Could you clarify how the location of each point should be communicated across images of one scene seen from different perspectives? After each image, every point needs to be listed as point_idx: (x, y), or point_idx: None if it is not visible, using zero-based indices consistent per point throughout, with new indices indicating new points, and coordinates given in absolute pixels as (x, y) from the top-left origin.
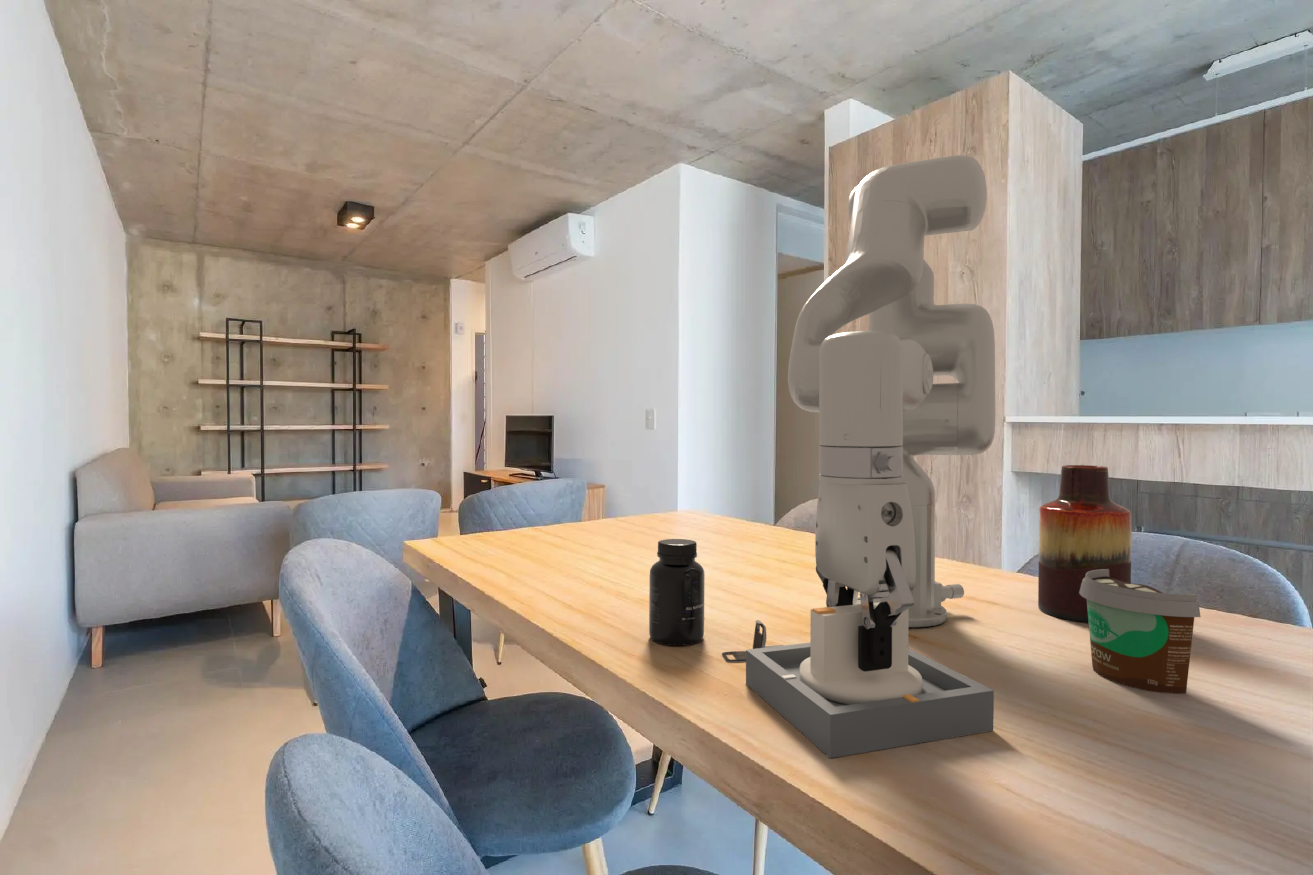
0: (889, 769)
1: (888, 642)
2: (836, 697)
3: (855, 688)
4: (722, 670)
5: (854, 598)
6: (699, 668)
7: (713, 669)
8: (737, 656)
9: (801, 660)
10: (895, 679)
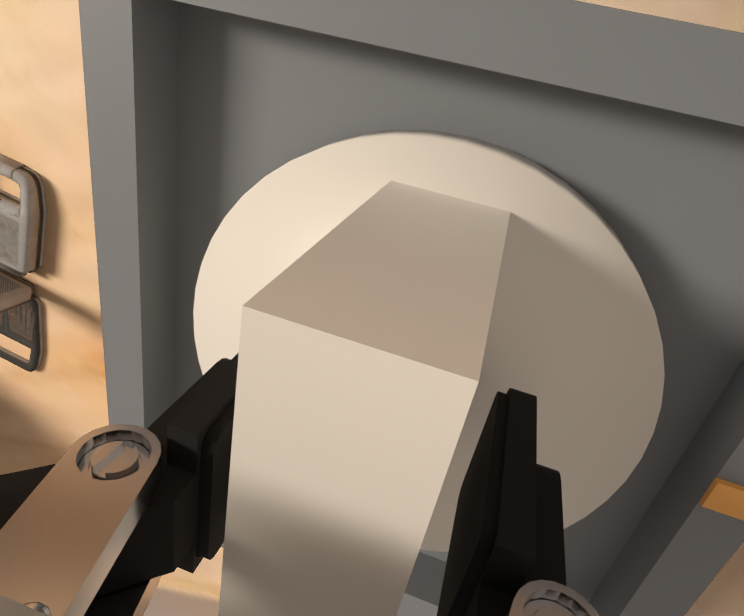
0: (741, 556)
1: (562, 541)
2: None
3: None
4: (86, 415)
5: (135, 521)
6: (63, 443)
7: (75, 425)
8: (10, 332)
9: (171, 351)
10: (542, 342)
